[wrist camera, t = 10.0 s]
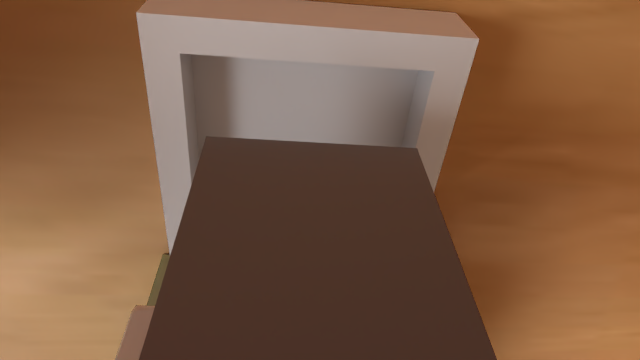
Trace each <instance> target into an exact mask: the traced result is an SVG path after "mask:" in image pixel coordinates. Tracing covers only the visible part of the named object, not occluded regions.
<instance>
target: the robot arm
mask: <svg viewBox="0 0 640 360" xmlns="http://www.w3.org/2000/svg"><path fill="white" fill-rule="evenodd" d="M154 308H155V306H141V305H136V306H135V308H134V309H133V310H132V312H131V315H130V318H129V321H128V324H127V326H126V329H125V332H124V335H123V338H122V341H121V344H120V346H119V349H118V352H117V355H116V358H115V360H139V358H140V355H141V351H142V348H143V345H144V341H145V338H146V335H147V331H148V328H149V325H150V321H151V318H152V315H153V311H154Z"/></svg>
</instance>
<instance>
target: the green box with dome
mask: <svg viewBox="0 0 640 360" xmlns="http://www.w3.org/2000/svg"><path fill="white" fill-rule="evenodd" d="M136 17H137V24H138V31H139V38H140V45H141V53H142V60H143V67H144V74H145V81H146V88H147V96H148V103H149V110H150V117H151V124H152V132H153V139H154V146H155V153H156V160H157V167H158V175H159V182H160V189H161V196H162V203H163V211H164V218H165V225H166V232H167V239H168V246H169V254H170V255H171V251H172V248H173V245H174V241H175V238H176V235H177V231H178V228H179V225H180V221H181V218H182V215H183V211H184V208H185V205H186V201H187V198H188V195H189V191H190V188H191V185H192V182H193V178H194V175H195V172H196V168H197V165H198V162H199V158H200V155H201V152H202V148H203V145H204V142H205V138H206V136H211V137H229V138H247V139H264V140H282V141H300V142H317V143H335V144H353V145H370V146H388V147H406V148H417V149H418V152H419V155H420V157H421V160H422V163H423V165H424V168H425V170H426V173H427V176H428V178H429V181H430V184H431V186H432V189H433V192H434V191H435V187H436V184H437V180H438V177H439V174H440V170H441V167H442V164H443V160H444V157H445V154H446V150H447V147H448V143H449V140H450V137H451V133H452V130H453V127H454V123H455V120H456V116H457V113H458V110H459V106H460V103H461V100H462V96H463V93H464V89H465V86H466V83H467V79H468V76H469V73H470V69H471V66H472V62H473V59H474V56H475V52H476V49H477V46H478V42H479V38H478V37H477V36H476V34H475V33H474V32H473V31H472V30H471V29H470V28H469V27H468V26H467V24H466V23H465V22H464V21H463V20H462V19H461V18H460V17H459V16H458V14H457V13H453V12H441V11H429V10H416V9H404V8H392V7H379V6H367V5H355V4H343V3H330V2H318V1H306V0H147V1H146V2H145V3H144V4H143V5H142V6H141V7H140V9H139V10H138V11H137V12H136ZM170 255H168V254H163V255H162V259H161V262H160V265H159V268H158V271H157V274H156V278H155V281H154V284H153V287H152V290H151V293H150V297H149V300H148V303H147V306H155V305H156V301H157V298H158V295H159V291H160V288H161V285H162V281H163V278H164V275H165V271H166V268H167V265H168V261H169V258H170Z"/></svg>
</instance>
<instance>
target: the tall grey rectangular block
mask: <svg viewBox="0 0 640 360" xmlns="http://www.w3.org/2000/svg"><path fill="white" fill-rule="evenodd" d="M139 360H497V359H496V356H495V354H494V351H493V348H492V346H491V343H490V340H489V338H488V335H487V332H486V330H485V327H484V324H483V322H482V319H481V316H480V314H479V311H478V308H477V306H476V303H475V300H474V298H473V295H472V292H471V290H470V287H469V285H468V282H467V279H466V277H465V274H464V271H463V269H462V266H461V263H460V261H459V258H458V255H457V253H456V250H455V247H454V245H453V242H452V239H451V237H450V234H449V231H448V229H447V226H446V224H445V221H444V218H443V216H442V213H441V210H440V208H439V205H438V202H437V200H436V197H435V194H434V192H433V189H432V186H431V184H430V181H429V178H428V176H427V173H426V170H425V168H424V165H423V163H422V160H421V157H420V155H419V152H418V149H417V148H406V147H388V146H370V145H353V144H335V143H317V142H300V141H282V140H264V139H247V138H229V137H211V136H206V138H205V142H204V145H203V148H202V152H201V155H200V158H199V162H198V165H197V168H196V172H195V175H194V178H193V182H192V185H191V188H190V191H189V195H188V198H187V201H186V205H185V208H184V211H183V215H182V218H181V221H180V225H179V228H178V231H177V235H176V238H175V241H174V245H173V248H172V251H171V255H170V258H169V261H168V265H167V268H166V271H165V275H164V278H163V281H162V285H161V288H160V291H159V295H158V298H157V301H156V305H155V308H154V311H153V315H152V318H151V321H150V325H149V328H148V331H147V335H146V338H145V341H144V345H143V348H142V351H141V355H140V358H139Z"/></svg>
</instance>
